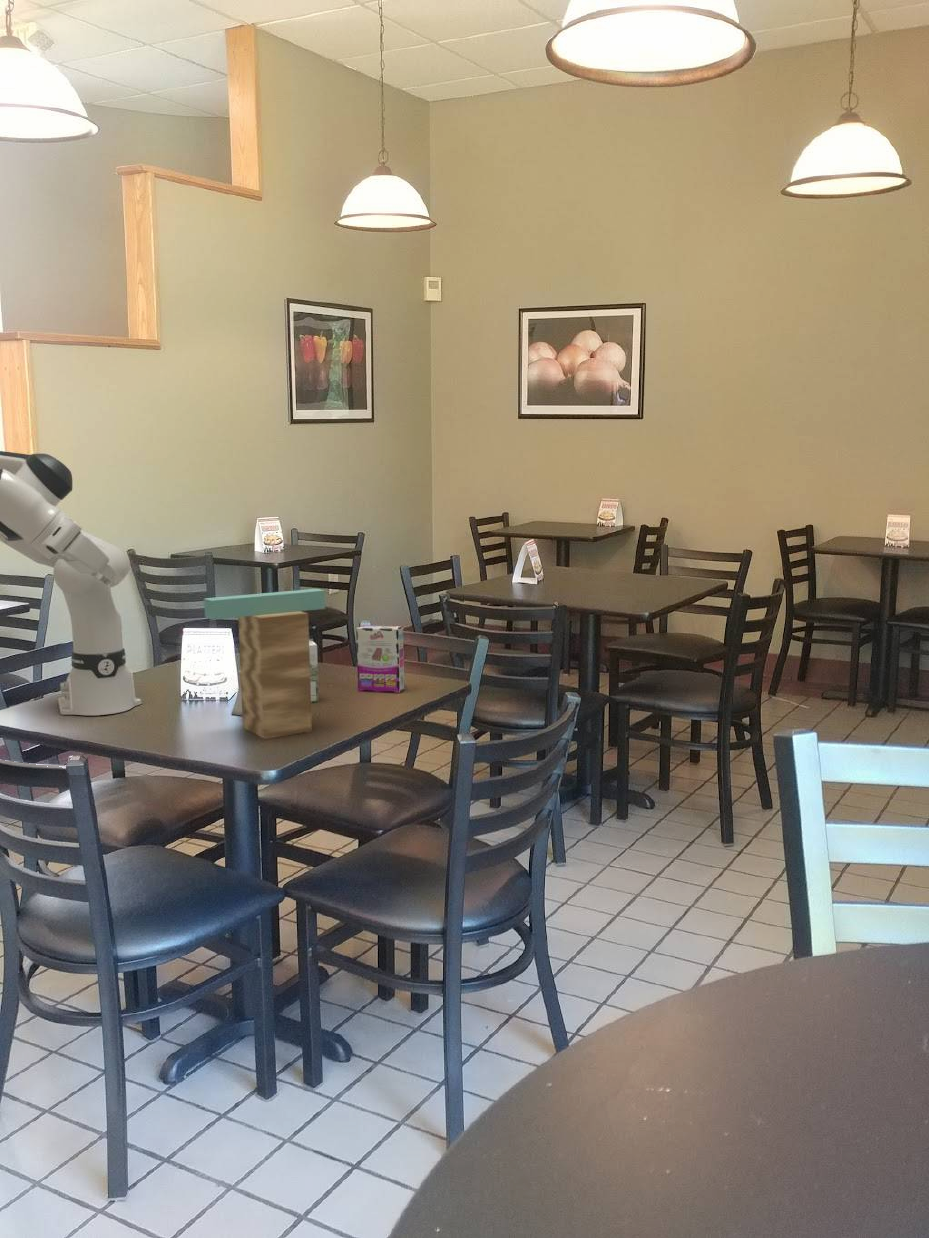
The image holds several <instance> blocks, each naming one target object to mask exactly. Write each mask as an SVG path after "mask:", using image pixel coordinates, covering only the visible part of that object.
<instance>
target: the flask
mask: <svg viewBox="0 0 929 1238" xmlns="http://www.w3.org/2000/svg"><path fill="white" fill-rule="evenodd" d="M238 674H239V685H238V691H237V694H236V697H235V700H234V704H233V707H232V710H231V715H237V716H242V694H241V670H240V669H239V670H238Z"/></svg>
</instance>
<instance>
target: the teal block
mask: <svg viewBox="0 0 929 1238" xmlns="http://www.w3.org/2000/svg"><path fill="white" fill-rule="evenodd" d="M203 601H204V602H203V603H204V605H203V606H204V617H205V618H206V619H209V620H212V621H214V620H215V621H216V620H225V619H234V618H238V617H246V616H256V615H266V614H276V613H286V612H296V611H302V612H307V611H315V610H316V611H317V610H325V609H326V593H325V590H324V589H318V588H310V589H298V590H287V591H274V592H263V593H253V594H240V595H239V594H238V595H231V596H230V595H229V596H227V595H226V596H218V597H205V598H203Z"/></svg>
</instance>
